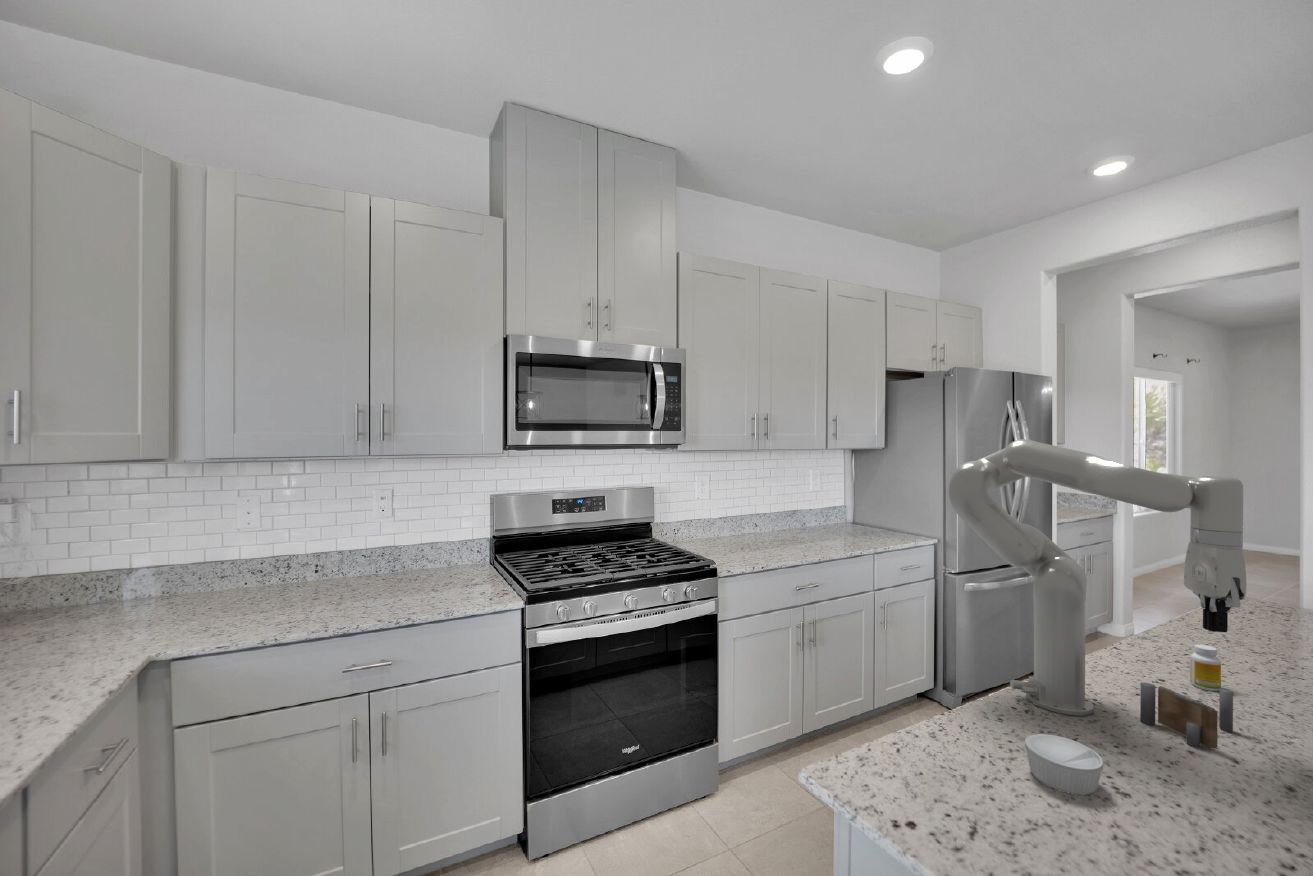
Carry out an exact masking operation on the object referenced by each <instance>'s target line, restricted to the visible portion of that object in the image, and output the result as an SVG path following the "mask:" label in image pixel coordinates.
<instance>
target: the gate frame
mask: <svg viewBox="0 0 1313 876" xmlns="http://www.w3.org/2000/svg"><path fill="white" fill-rule="evenodd" d="M1156 689H1157V688H1156V685H1154V684H1152V683H1149V682H1145V681H1144V682H1140V699H1139V700H1140V701H1139V703H1140V710H1139V711H1140V713H1139V714H1140V715H1139V716H1140V719H1139V720H1140V723H1142V724H1145V725H1147V726H1156ZM1187 744H1188V745H1187ZM1186 745H1187V746H1190V747H1192V746H1193V747H1192V748H1195V747H1197V748H1196V749H1200V748H1201V745H1202V744H1201V726H1200V725H1198V724H1196V723H1192V722H1187V736H1186Z"/></svg>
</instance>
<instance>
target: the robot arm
mask: <svg viewBox="0 0 1313 876" xmlns="http://www.w3.org/2000/svg"><path fill="white" fill-rule="evenodd" d="M1024 478H1030V479H1033V480H1038V481H1043V482H1045V483H1049V484H1053V485H1057V486H1061V487H1065V488H1069V489H1070V490H1071V489H1072V490H1076V491H1079V492H1083V493H1087V494H1091V495H1097V496H1100V497H1105V498H1108V499H1112V500H1115V501H1120V502H1123V503H1126V504H1130V505H1134V506H1137V507H1142V508H1146V509H1149V510H1153V511H1158V512H1163V513H1177V512H1179V511H1183V510H1185V509H1190V528H1189V530H1190V532H1189V534H1190V536H1189V537H1190V538H1189V542H1188V545H1187V549H1186V553H1185V558H1184V570H1183V585H1184V587H1186V589H1187V590H1189V591H1191V592H1192V593H1193V595H1195V596H1196V597H1198V598H1199V600H1200V606H1201V609H1202V629H1204V630H1207V631H1209V632H1217V633H1227V632H1228V629H1229V628H1228V626H1229V625H1228V623H1229V622H1228V618H1229V615H1228V614H1230V613H1231V610H1232V608H1238V609H1239V608H1240V607H1241V601H1242V600H1245V598H1246V595H1247V570H1246V569H1247V568H1246V562H1245V561H1246V560H1245V555H1244V551H1243V549H1244V548H1243V547H1244V528H1243V527H1244V484H1243V482H1242V481H1241V479H1240V478H1235V477H1230V476H1207V475H1206V476H1203V475H1202V476H1201V475H1200V476H1186V475H1179V474H1172V473H1162V472H1157V471H1153V470H1149V469H1144V468H1140V467H1136V466H1131V465H1127V464H1125V463H1124V464H1123V463H1118V462H1115V461H1112V460H1109V459H1107V458H1104V457H1102V456H1098V455H1096V454H1092V453H1090V452H1084V451H1081V450H1080V451H1079V450H1075V449H1071V448H1066V447H1062V446H1057V445H1053V444H1049V443H1045V442H1044V443H1043V442H1039V441H1035V440H1032V439H1026V438H1023V439H1022V438H1021V439H1017V440H1013V441H1012V442H1010V443H1008V445H1006V447H1004V448H1002V449H1000V450H998V451H995V452H994V453H991V454H989V455H987V456H984V457H982V458H979V459H977V460H972V461H965V463H964V462H963V463H961V464H960V465H958V467H956V469H955V470H954V471H953V473H952V475H951V477H950V480H949V485H948V498H949V502H950V504H951V506H952V508H953V509H954V511H955V513H956V514H957V516H958V517H959V518H960V519H961V520H962V521H963V522H964V523H965V524H966V525H967V526H968V527H969V528H970V529H971V530H973V532H974V533H976V535H978V537H980V539H982V540H983V541H984V543H986V545H988V546H989V547H990V548H991V549H992V550H993V551H994V552H995V553H996V554H997V555H998V556H999V557H1000V558H1001V559H1002V560H1003V561H1004V562H1005V563H1007V564H1008V565H1010V566H1012V567H1015V568H1019V569H1020V568H1021V569H1023V570H1024V571H1025V572H1026V573H1027V574H1028V575H1030V576H1031V577H1032V578H1033V584H1032V588H1033V589H1032V590H1033V591H1032V597H1033V598H1032V599H1033V631H1034V632H1033V676H1032V675H1031V676H1028V679H1025V680H1024V681H1023V680H1022V681H1021V680H1015V679H1011V680H1010V681H1009V684H1010V685H1009V686H1010V688H1011V687H1012V688H1011V689H1012V690H1020V692H1021V693H1022V694H1025V697H1026V698H1027V700H1028V701H1029V702H1031V703H1032V704H1034V705H1035V706H1037V707H1040V708H1042V709H1045V710H1048V711H1051V712H1054V713H1058V714H1061V715H1069V716H1079V717H1080V716H1088V715H1091V714H1092V713H1094V709H1095V708H1094V704H1093V702H1092V701H1090V700H1089V699H1088V698H1086V602H1087V601H1086V600H1087V597H1086V596H1087V584H1088V583H1087V582H1088V581H1087V580H1088V579H1087V575H1086V572H1085V571H1084V569H1083V568H1082V566H1081V565H1080V564H1079V563H1078V562H1077V561H1075V560H1074V559H1073V558H1072V557H1071V556H1070V555H1069V554H1067V553H1066V552H1065V551H1064V550H1063V549H1062V548H1060V547H1059V545H1057V544H1056V543H1055V542H1054V541H1053V540H1052V539H1050V538H1049V537H1048V536H1047V535H1046V534H1045V533H1044V532H1042V531H1041V530H1039V529H1038V528H1036V527H1034V526H1032V525H1030V524H1026V523H1020V522H1019V521H1018V520H1017V519H1015V518H1014V516H1012V515H1011V514H1009V513H1008V511H1007V510H1006V509H1004V508H1003V507H1002V506H1001V505H1000V504H998V503H997V502H995V500H993V498H992V497H991V496H990V494H989V493H991V492H993V491H996V490H997V489H1000V488H1002V487H1005V486H1007V485H1010V484H1012V483H1014V482H1017V481H1018V480H1019V481H1020V480H1022V479H1024ZM1025 681H1028V682H1025Z"/></svg>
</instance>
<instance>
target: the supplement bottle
mask: <svg viewBox="0 0 1313 876" xmlns="http://www.w3.org/2000/svg"><path fill="white" fill-rule="evenodd" d="M1193 648H1194V649H1193V650H1194V652H1193V653H1192V654H1191V655H1190V667H1189V668H1190V671H1189V672H1190V684H1191V685H1192V686H1193V687H1196V688H1198V687H1199V688H1198V689H1200V690H1205V691H1209V692H1219V690H1220V689H1222V661H1221V659H1220V658H1219V657H1217V656H1218V650H1217V648H1216V647H1214V646H1212V645H1211V646H1210V645H1205V644H1199V643H1197V644H1194V647H1193Z"/></svg>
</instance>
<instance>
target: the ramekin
mask: <svg viewBox="0 0 1313 876" xmlns="http://www.w3.org/2000/svg"><path fill="white" fill-rule="evenodd" d="M1024 748H1025V750H1026V754H1027V755H1026V756H1027V760H1028V767H1029V770H1030V772H1031V773H1032V774H1033V776H1034V777H1035V779H1037V780H1038V781H1040V783H1041V784H1043V783H1044V784H1043V785H1045V784H1046V785H1045V786H1047V785H1048V786H1047V787H1049V788H1051V787H1053V788H1054V789H1053V788H1052V789H1053V790H1056V789H1057V790H1056V791H1058V790H1060V791H1059V792H1061V791H1063V792H1062V793H1065V792H1069V793H1073V794H1072V795H1074V794H1088V795H1090V793H1091V794H1092V793H1094V792H1095V791H1096V790H1097V789H1098V785H1099V783H1100V779H1101V778H1100V777H1101V773H1102V771H1103V770H1104V760H1103V758H1102V757H1101V756H1100V754H1099V753H1098V752H1096V751H1094V750H1093V749H1092V748H1091V747H1089V746H1087V745H1085V744H1082V743H1080V742H1078V741H1076V740H1072V739H1071V738H1070V739H1069V738H1068V737H1067V738H1066V737H1064V736H1059V735H1054V734H1046V733H1045V734H1044V733H1037V734H1031V735H1029V736H1027V737H1026V738H1025V740H1024ZM1069 793H1068V794H1069Z"/></svg>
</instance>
